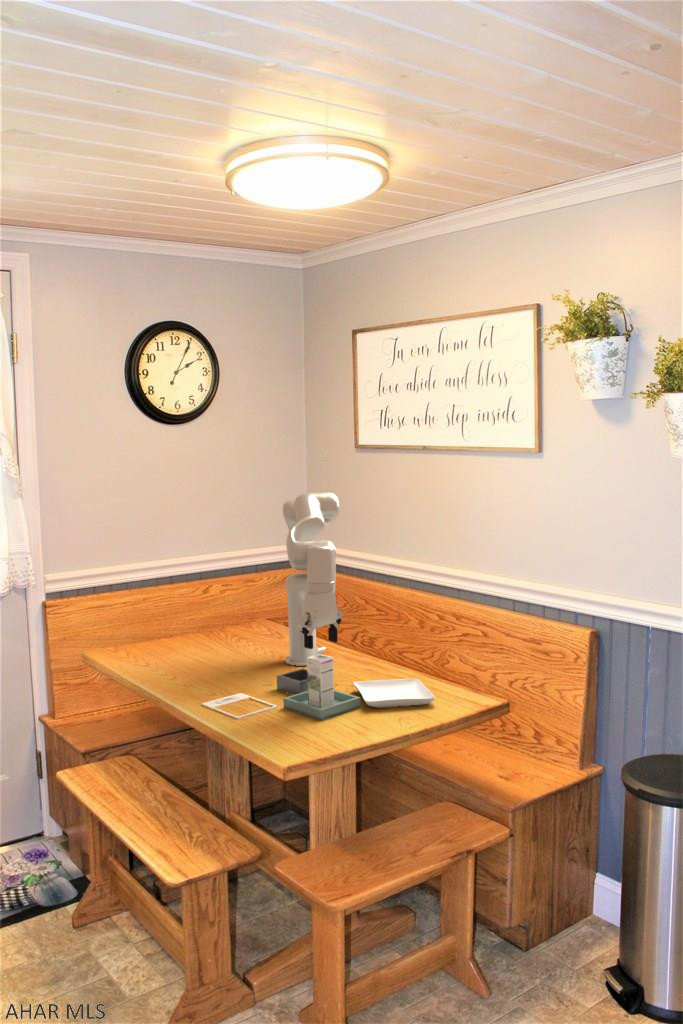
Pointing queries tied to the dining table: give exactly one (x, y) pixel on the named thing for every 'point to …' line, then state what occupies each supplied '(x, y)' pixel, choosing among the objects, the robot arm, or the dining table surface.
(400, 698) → the salad plate
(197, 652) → the dining table surface
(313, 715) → the tray
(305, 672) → the sleeve
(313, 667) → the syrup box
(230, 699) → the photo frame
